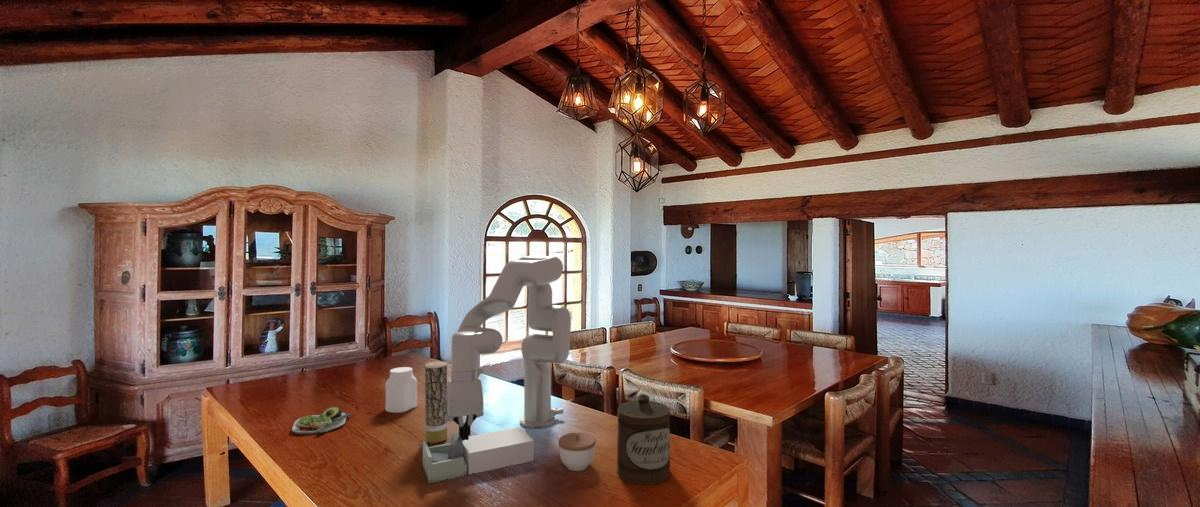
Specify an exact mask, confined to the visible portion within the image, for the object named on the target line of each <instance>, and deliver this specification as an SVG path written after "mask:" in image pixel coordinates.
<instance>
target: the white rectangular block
mask: <svg viewBox="0 0 1200 507" xmlns="http://www.w3.org/2000/svg"><path fill="white" fill-rule="evenodd" d="M534 442H535V441H534V439H533V438H532V437H531V436H530V435H529V434H528V433H527V432H526V431H525V430H524V429H523V428H522V427H521V426H519V427H514V428H508V429H503V430H496V431H490V432H487V433H481V434H476V435H470V436H469V439H468V440H466V439H465V440H464V441H463V443H462V451H461V455H462V457H464V460H465V462H466V464H467V472H468V473H467V475H469V474H470V475H473V474H472V473H475V474H480V473H483V472H489V471H493V470H497V469H503V468H506V467H505V466H507V467H511V466H510V465H512V466H516V465H520V464H526V463H529V462H534V459H535V458H534V453H535V451H534V450H535V449H534V448H535V447H534V446H535V445H534V444H535V443H534ZM502 467H503V468H502ZM479 472H480V473H479Z"/></svg>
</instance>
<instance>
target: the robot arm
mask: <svg viewBox="0 0 1200 507" xmlns="http://www.w3.org/2000/svg"><path fill="white" fill-rule="evenodd" d="M563 272H564V264H563V262H562V260H561V259H560V258H559V257H557V256H553V255H551V256H549V255H525V256H522V257H520V258H518V259H515V260H513V259H512V260H510V261H508V262H506V263H505V265H504V266H503V268H502V270H501V272H500V274H499V276H498V278H497V280H496V281H495V284H494V286H493V287H492V290H491V292H490V293H489V295H488V296H487V297H485V298H484V299H482V300H481V301H479V302H478V303H477V304H476V305H475V306H473V307H472V308H470V310H469V311H468V312H467V313H466V315H464V318H463V319H462V321H461V323H460V326H458V329H457V332H455V333H454V334H452V336H451V369H450V371H451V373H450V374H451V377H450V378H451V379H449V380H447V392H446V407H445V408H446V412H447V413H446V417H445V419H446V421H447V422H454V423H455V424H456V425H458V433H459V437H461V438H462V440H463V441H464V440H465V439H466V440H468V439H469V436H471V426H472V424H473V422H474V421H475V420H476V419H477V418H480V417H483V416H484V391H483V385H482V379H481V377H480V375H483V374H484V369H482V368H479V360H480V359H479V358H480V355H489V354H494V353H496V352H498V350H499V349H500V348H501V347H502V345H503V336H502V334H501V332H500V331H498V330H497V329H494V328H491V327H481V326H482V325H483V324H484V323H485V322H486V321H488V320H489V319H491V318H492V317H496V316H497V315H501V314H504V313H507V312H508V311H510V310H512V309H514V307H515V305H516V303H517V301H518V298H519V296H520V295H521V292H522V290H523V288H524V287H527V290H528V305H527V306H528V307H527V308H528V309H527V325H528V327H529V328H530V329H531V330H534V331H540V332H550V333H551V332H552V335H549V334H539V333H532V334H528V335H527V336H525V337H524V338H523V339H522V342H521V357H522V359H523V360H522V361H523V367H524V368H523V369H524V370H523V371H524V372H523V374H524V375H523V377H524V379H523V381H524V383H523V385H524V388H523V389H524V390H523V393H524V395H523V396H524V399H523V400H524V403H523V404H524V405H523V406H524V407H523V408H524V413H523V414H524V415H523V416H521V417H520V418H519V424H520V425H521V426H523V427H526V428H530V429H538V428H539V429H541V428H545V427H546V428H547V427H550V426H551V425H553V424H554V423H555V422H556V415H563V414H564V408H563V407H562V408H558V407H552V404H551V403H552V397H551V396H552V377H551V376H552V373H551V369H550V366H549V364H557V365H560V364H564V363H565V362H566V361H567V359H568V358H569V355H570V347H571V329H572V318H571V313H570V310H569V309H568V308H567V307H566V306H564V305H557V304H553V289H552V286H551V283H553V282H556V281H558V280H559V279H560V278H561V277H562V274H563ZM464 417H465V421H464Z"/></svg>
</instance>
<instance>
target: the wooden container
mask: <svg viewBox="0 0 1200 507" xmlns="http://www.w3.org/2000/svg"><path fill="white" fill-rule="evenodd" d="M670 412H671V411H670V408H669V407H668V405H666V404H664V403H661V402H658V401H653V400H650V396H649V395H647V394H646V393H640V394H639V395H638V396H637V398H636V399H635V400H630V401H629V400H628V401H626V402H622V403H621V404H620V405H619V406H618V407H617V440H616V441H617V442H616V459H617V460H616V473H617V475H618V476H619V477H620V478H621V479H622V480H625V481H626V482H629V483H631V484H636V485H642V486H644V485H654V484H660V483H662V482H664V481H665V480H667V479H668V478H669V476H670V473H671V472H670V471H671V469H670V468H671V427H670V426H671V425H670V424H671V423H670V420H671V417H670Z"/></svg>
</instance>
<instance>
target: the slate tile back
mask: <svg viewBox="0 0 1200 507" xmlns="http://www.w3.org/2000/svg"><path fill="white" fill-rule="evenodd" d="M462 443H463V440H462V438H461V437H459V432H456V433H455V432H454V433H453V432H452V433H451V435H450V450H449V455H450V458H451V459H455V458H460V457H461V451H462Z"/></svg>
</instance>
